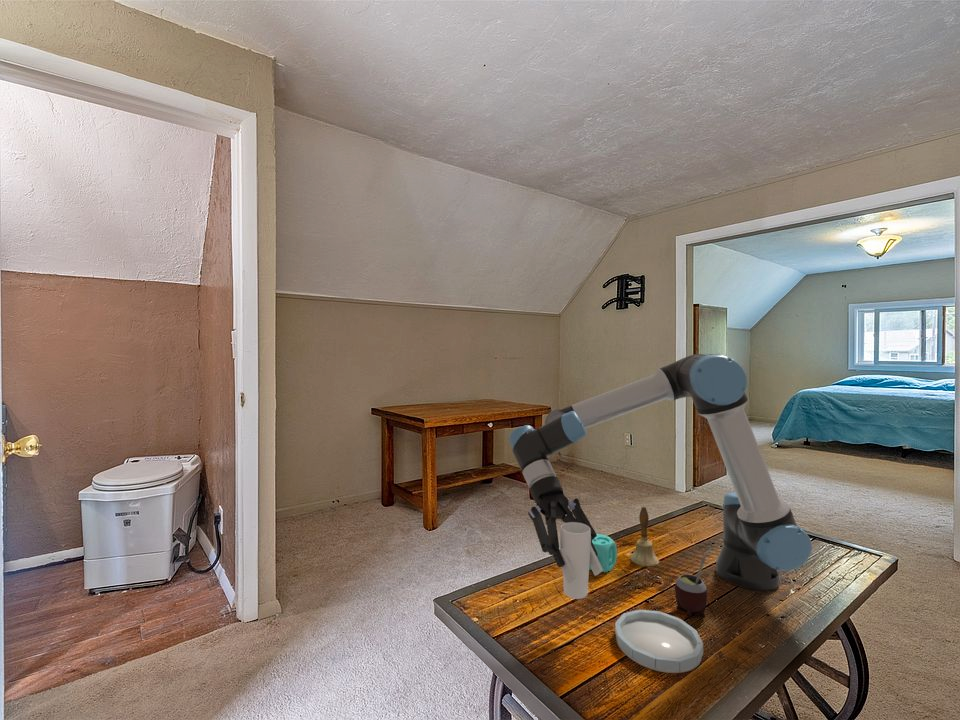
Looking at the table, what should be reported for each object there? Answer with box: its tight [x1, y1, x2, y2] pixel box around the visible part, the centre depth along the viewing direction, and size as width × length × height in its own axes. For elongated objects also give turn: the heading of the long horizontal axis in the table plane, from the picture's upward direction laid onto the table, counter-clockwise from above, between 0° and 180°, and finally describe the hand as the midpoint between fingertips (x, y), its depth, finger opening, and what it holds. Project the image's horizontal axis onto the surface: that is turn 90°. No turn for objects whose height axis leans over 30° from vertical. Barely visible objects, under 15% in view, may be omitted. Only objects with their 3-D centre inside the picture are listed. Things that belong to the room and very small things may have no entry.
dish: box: [614, 609, 704, 674], centre depth 97 cm, size 17×17×2 cm
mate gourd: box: [674, 547, 713, 620], centre depth 109 cm, size 8×8×15 cm
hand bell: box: [629, 506, 660, 568], centre depth 135 cm, size 8×8×16 cm
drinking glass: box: [559, 522, 591, 600], centre depth 101 cm, size 7×7×15 cm
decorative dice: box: [589, 533, 618, 573], centre depth 132 cm, size 8×8×8 cm
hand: (585, 576), depth 98 cm, fingers closed on drinking glass, 7 cm apart
